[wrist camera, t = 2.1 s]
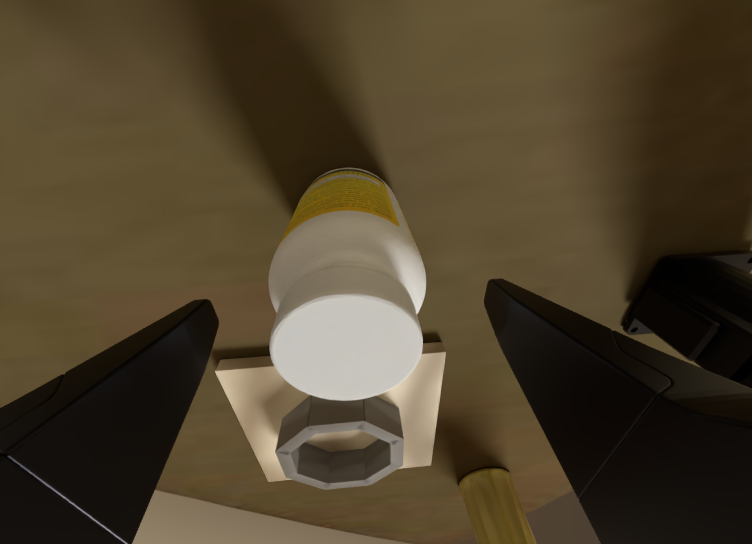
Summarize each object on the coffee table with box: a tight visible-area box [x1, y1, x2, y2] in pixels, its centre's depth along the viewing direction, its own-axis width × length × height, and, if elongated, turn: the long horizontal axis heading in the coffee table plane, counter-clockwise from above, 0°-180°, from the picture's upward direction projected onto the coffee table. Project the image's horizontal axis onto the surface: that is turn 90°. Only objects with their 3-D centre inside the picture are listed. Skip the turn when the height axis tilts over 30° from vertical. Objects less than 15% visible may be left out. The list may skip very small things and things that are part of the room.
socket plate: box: [215, 342, 446, 490], centre depth 23 cm, size 16×16×4 cm
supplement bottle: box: [269, 168, 426, 401], centre depth 12 cm, size 5×5×10 cm
